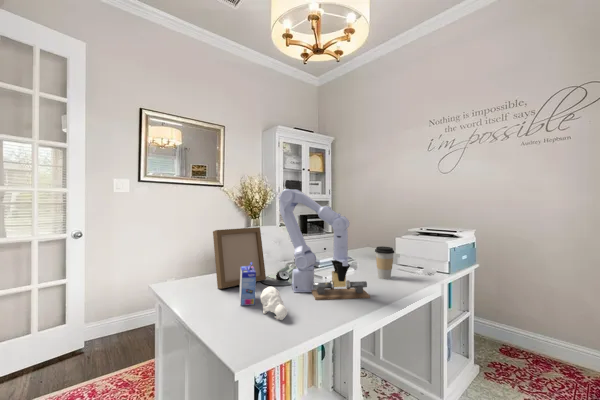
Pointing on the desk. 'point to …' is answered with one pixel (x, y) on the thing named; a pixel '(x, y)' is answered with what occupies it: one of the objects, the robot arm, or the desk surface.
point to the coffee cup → (384, 261)
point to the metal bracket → (285, 270)
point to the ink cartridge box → (247, 285)
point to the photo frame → (237, 254)
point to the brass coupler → (337, 280)
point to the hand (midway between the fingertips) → (340, 279)
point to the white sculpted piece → (273, 302)
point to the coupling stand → (339, 291)
